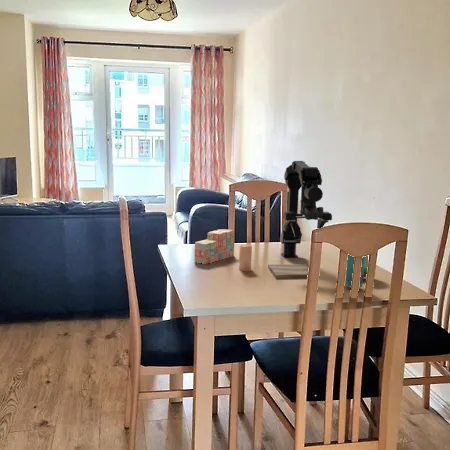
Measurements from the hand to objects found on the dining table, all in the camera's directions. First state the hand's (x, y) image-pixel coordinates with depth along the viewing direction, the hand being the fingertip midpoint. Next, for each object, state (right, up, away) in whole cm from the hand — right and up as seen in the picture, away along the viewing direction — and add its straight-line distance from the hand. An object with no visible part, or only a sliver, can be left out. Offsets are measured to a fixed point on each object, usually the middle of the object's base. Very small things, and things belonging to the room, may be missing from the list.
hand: (306, 237), depth 212 cm
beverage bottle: (+14, -19, -19) cm, 30 cm away
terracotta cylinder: (-25, -14, +5) cm, 29 cm away
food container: (+23, -16, -4) cm, 28 cm away
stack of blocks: (-37, -11, +22) cm, 45 cm away
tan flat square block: (-6, -15, +1) cm, 16 cm away
